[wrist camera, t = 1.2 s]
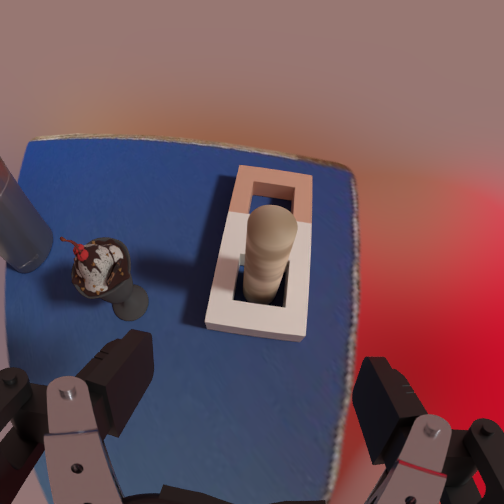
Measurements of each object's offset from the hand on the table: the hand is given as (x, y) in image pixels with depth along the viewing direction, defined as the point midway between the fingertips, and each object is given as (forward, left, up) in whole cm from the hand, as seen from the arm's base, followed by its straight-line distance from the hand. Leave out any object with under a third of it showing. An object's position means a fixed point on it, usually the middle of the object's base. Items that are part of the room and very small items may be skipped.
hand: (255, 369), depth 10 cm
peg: (-10, +9, -23) cm, 26 cm away
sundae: (-16, -7, -23) cm, 29 cm away
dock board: (-14, +12, -23) cm, 30 cm away
